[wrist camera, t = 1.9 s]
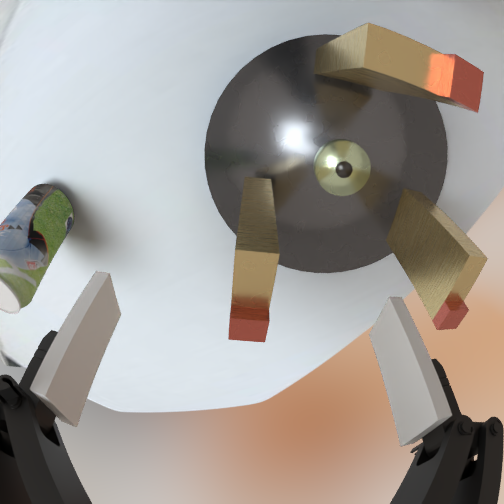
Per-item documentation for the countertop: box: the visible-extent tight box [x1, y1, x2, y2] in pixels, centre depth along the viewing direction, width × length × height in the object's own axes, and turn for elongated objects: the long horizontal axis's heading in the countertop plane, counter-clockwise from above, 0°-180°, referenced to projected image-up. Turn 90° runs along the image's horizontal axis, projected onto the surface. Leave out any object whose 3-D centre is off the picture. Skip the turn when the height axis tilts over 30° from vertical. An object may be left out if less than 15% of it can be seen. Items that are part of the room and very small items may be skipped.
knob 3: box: [386, 188, 487, 330], centre depth 16 cm, size 5×2×10 cm, turn 175°
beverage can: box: [0, 184, 74, 314], centre depth 18 cm, size 6×7×12 cm
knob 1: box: [229, 177, 280, 342], centre depth 16 cm, size 5×2×10 cm, turn 175°
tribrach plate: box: [205, 35, 447, 273], centre depth 19 cm, size 19×19×3 cm
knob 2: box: [313, 23, 484, 113], centre depth 10 cm, size 5×2×10 cm, turn 85°
